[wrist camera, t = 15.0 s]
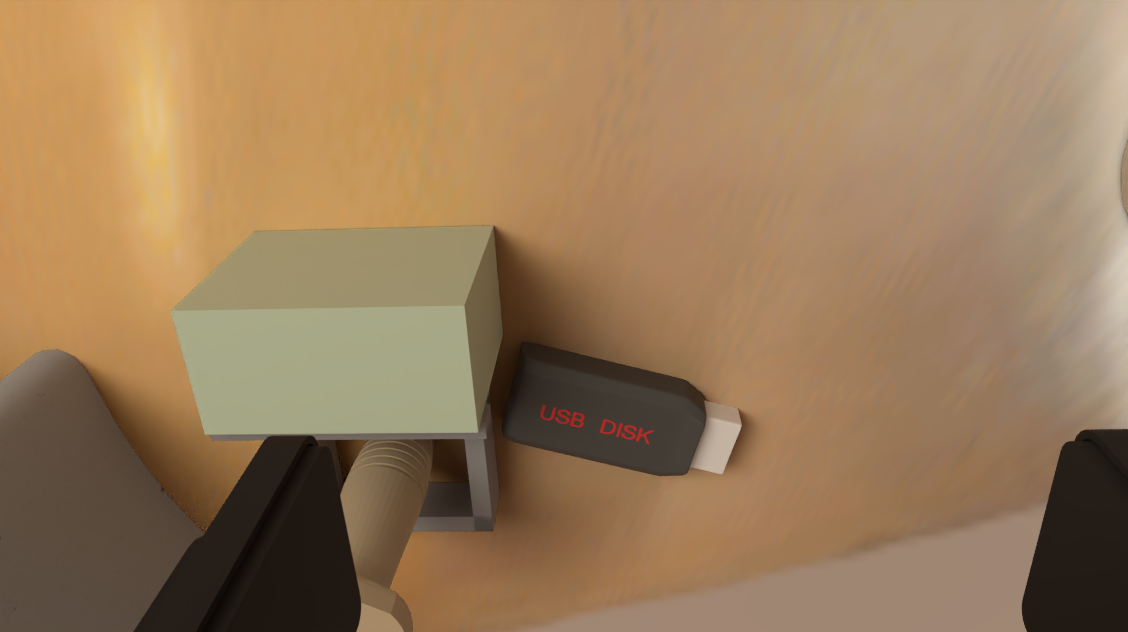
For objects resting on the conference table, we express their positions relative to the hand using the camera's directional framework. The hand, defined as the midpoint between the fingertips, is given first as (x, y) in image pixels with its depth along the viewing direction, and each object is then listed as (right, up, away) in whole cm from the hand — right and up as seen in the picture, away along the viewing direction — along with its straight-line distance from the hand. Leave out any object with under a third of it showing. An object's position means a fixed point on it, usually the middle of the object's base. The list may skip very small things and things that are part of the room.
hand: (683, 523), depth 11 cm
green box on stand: (-11, 0, +35) cm, 36 cm away
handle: (-10, -4, +36) cm, 38 cm away
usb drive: (+2, -2, +35) cm, 36 cm away
